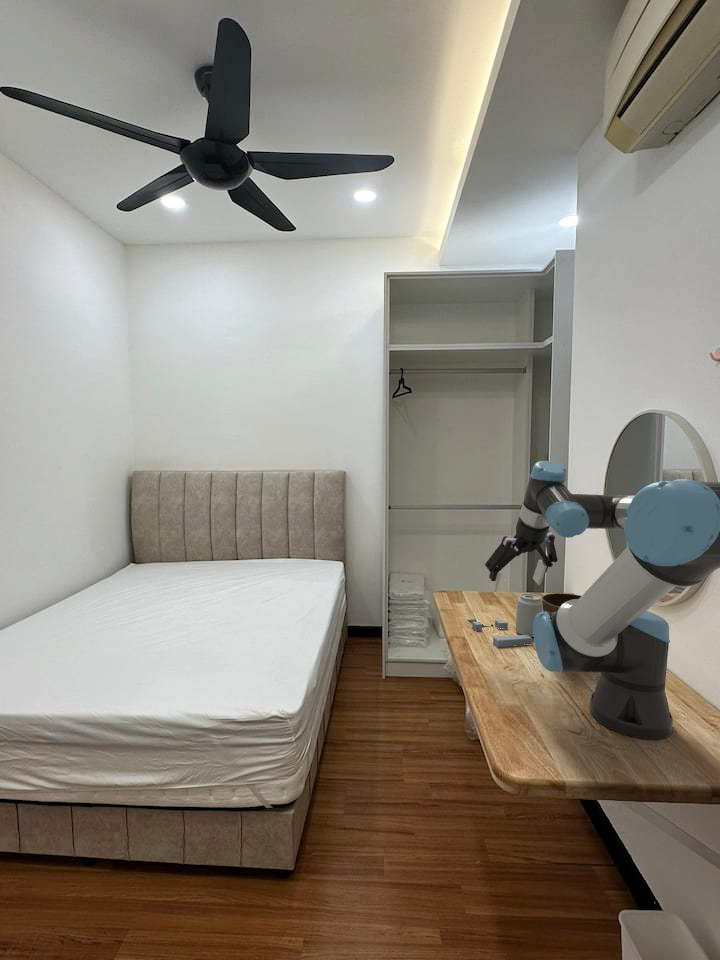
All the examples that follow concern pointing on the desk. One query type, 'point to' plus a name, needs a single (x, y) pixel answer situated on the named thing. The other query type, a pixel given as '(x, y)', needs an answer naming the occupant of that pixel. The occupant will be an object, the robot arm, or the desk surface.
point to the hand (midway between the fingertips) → (514, 585)
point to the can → (527, 612)
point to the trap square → (474, 621)
